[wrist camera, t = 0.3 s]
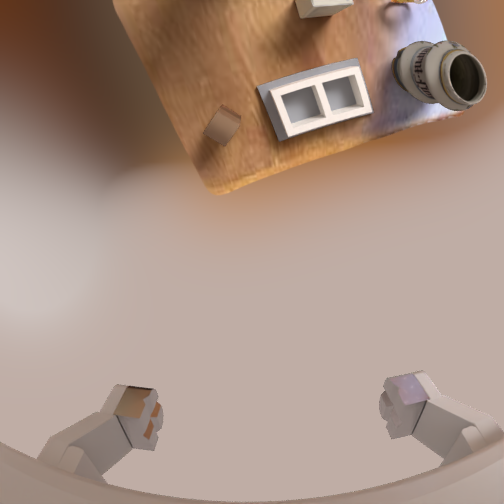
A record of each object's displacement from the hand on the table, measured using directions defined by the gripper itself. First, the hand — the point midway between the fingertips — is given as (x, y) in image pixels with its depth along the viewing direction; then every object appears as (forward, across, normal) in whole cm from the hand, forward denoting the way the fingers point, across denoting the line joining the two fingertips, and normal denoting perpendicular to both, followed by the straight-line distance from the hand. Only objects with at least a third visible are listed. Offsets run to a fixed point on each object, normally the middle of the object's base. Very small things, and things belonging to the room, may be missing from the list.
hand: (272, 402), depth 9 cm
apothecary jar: (+44, -31, -28) cm, 61 cm away
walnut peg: (+47, +5, -16) cm, 50 cm away
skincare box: (+41, -11, -37) cm, 56 cm away
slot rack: (+46, -12, -20) cm, 52 cm away
